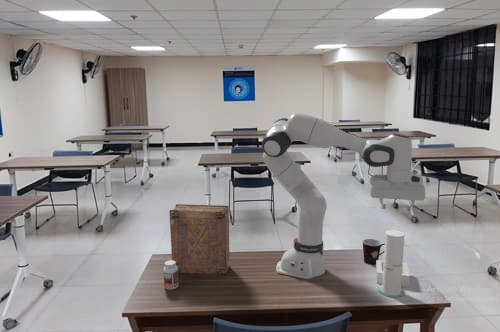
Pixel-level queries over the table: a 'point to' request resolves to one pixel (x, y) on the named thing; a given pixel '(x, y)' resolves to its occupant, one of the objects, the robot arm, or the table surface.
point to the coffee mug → (371, 251)
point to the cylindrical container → (393, 262)
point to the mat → (391, 295)
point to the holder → (405, 273)
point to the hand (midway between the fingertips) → (396, 209)
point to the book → (200, 238)
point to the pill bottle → (171, 275)
